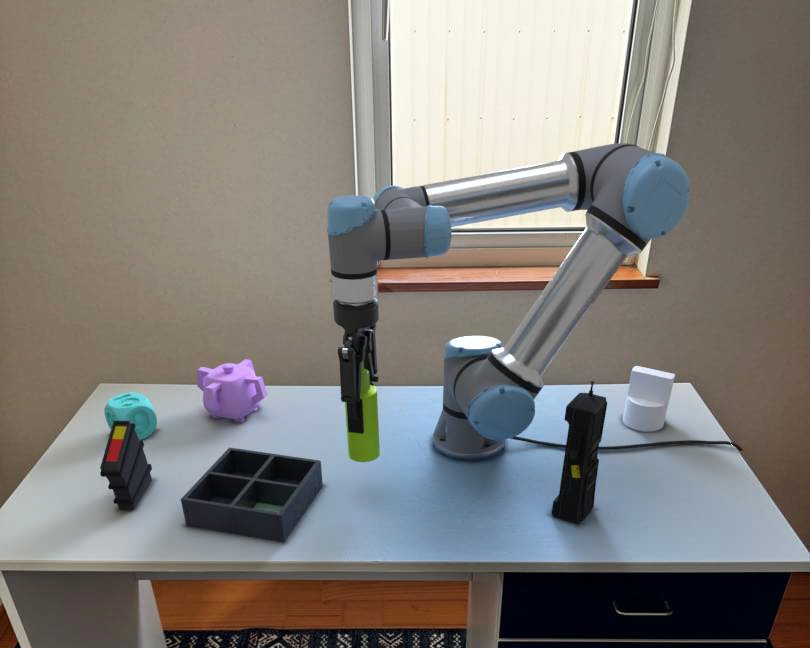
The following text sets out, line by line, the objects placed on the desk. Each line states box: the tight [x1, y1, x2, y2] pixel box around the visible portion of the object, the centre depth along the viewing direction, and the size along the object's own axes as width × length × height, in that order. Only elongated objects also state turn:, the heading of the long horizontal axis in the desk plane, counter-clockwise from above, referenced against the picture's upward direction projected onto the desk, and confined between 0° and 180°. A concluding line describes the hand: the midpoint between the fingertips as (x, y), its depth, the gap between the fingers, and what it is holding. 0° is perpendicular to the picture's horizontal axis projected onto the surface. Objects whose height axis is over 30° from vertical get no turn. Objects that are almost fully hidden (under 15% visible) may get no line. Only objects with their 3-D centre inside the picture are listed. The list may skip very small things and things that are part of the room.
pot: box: [196, 358, 268, 423], centre depth 171 cm, size 18×17×12 cm
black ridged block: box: [99, 421, 153, 510], centre depth 143 cm, size 4×13×15 cm
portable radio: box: [551, 380, 608, 525], centre depth 133 cm, size 8×6×25 cm
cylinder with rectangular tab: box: [622, 365, 676, 433], centre depth 166 cm, size 9×9×12 cm
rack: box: [180, 446, 324, 543], centre depth 142 cm, size 19×19×6 cm
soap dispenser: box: [344, 355, 381, 463], centre depth 137 cm, size 6×7×20 cm
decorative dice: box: [103, 391, 158, 441], centre depth 164 cm, size 8×8×8 cm
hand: (361, 423), depth 139 cm, fingers closed on soap dispenser, 6 cm apart
